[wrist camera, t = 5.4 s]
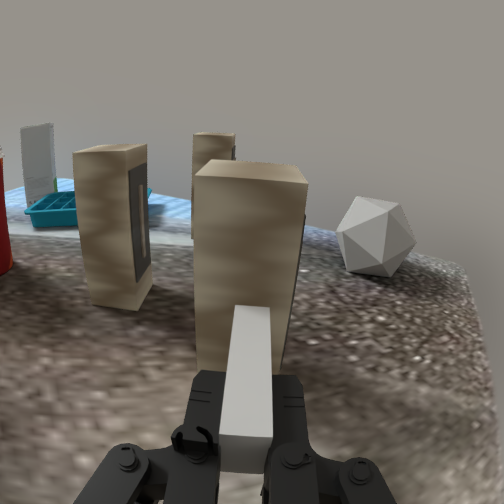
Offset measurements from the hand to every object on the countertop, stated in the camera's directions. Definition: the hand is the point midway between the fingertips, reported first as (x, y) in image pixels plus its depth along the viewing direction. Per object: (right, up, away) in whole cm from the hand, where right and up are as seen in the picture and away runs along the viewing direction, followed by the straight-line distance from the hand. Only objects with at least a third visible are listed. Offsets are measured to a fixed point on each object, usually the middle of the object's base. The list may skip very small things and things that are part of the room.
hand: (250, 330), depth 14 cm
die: (+14, +1, +21) cm, 25 cm away
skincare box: (-42, +14, +38) cm, 58 cm away
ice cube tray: (-26, +9, +32) cm, 42 cm away
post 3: (-1, -4, +6) cm, 7 cm away
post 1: (-12, 0, +13) cm, 17 cm away
